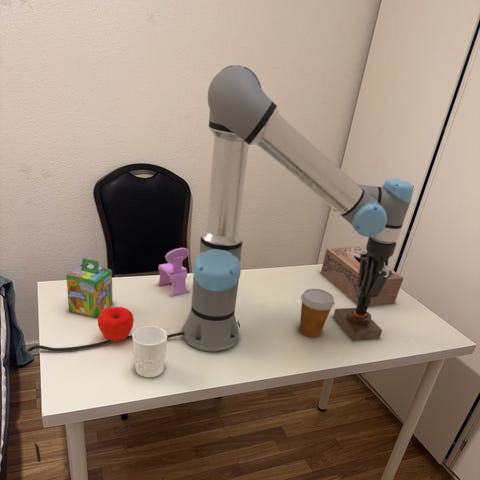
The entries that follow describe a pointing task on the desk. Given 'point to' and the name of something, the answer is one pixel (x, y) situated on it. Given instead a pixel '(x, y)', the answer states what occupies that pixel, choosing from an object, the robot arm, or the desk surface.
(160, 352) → the white cup
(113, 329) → the apple
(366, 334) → the console
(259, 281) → the desk surface
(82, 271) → the chalk box
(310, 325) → the disposable coffee cup
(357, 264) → the tissue box cover
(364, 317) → the button
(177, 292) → the toy chair
